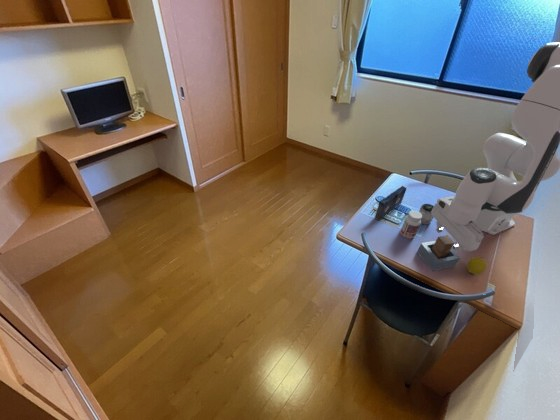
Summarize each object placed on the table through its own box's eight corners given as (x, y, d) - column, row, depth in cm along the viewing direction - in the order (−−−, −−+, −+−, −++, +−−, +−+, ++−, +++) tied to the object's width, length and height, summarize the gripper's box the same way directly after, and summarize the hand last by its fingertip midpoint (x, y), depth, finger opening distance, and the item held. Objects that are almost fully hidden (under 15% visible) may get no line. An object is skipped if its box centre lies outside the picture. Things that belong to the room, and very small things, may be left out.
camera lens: (433, 223, 128) (440, 210, 123) (421, 225, 127) (427, 212, 121) (425, 214, 132) (431, 201, 127) (413, 216, 131) (418, 203, 126)
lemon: (462, 264, 110) (472, 251, 105) (478, 269, 109) (489, 255, 103) (463, 275, 106) (473, 262, 101) (480, 280, 105) (491, 267, 99)
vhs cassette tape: (396, 201, 139) (402, 185, 133) (401, 204, 138) (408, 188, 131) (373, 217, 131) (378, 200, 124) (378, 221, 129) (384, 204, 122)
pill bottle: (418, 235, 122) (427, 215, 115) (408, 240, 120) (417, 221, 112) (406, 226, 126) (414, 207, 119) (397, 232, 123) (404, 212, 116)
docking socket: (438, 247, 117) (443, 238, 114) (455, 266, 110) (460, 257, 106) (417, 251, 115) (421, 243, 112) (432, 271, 108) (437, 262, 105)
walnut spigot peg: (437, 252, 114) (447, 235, 107) (444, 260, 111) (454, 242, 104) (428, 254, 113) (438, 236, 106) (435, 261, 110) (445, 244, 103)
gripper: (493, 232, 89) (474, 259, 99) (450, 193, 104) (436, 220, 114) (476, 235, 88) (458, 263, 98) (435, 196, 103) (422, 223, 113)
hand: (446, 240), depth 106 cm, fingers open, 8 cm apart
